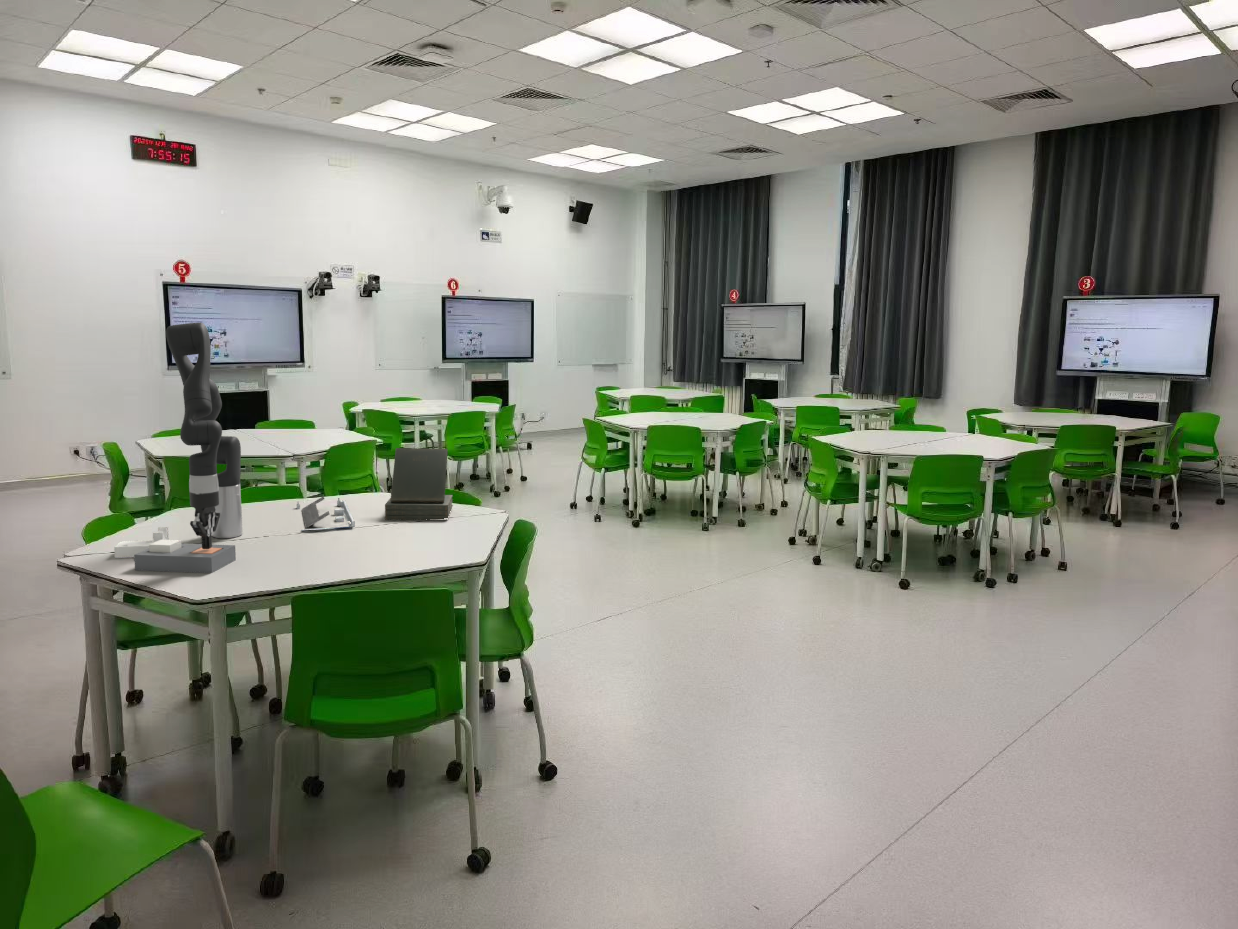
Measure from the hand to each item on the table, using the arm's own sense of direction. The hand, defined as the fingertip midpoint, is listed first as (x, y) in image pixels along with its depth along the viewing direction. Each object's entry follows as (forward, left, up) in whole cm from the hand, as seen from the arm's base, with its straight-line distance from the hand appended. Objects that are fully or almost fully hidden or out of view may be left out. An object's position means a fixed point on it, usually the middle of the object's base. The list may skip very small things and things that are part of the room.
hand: (206, 548), depth 241 cm
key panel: (0, -6, -5) cm, 8 cm away
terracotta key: (0, 0, -4) cm, 4 cm away
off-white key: (0, -12, -2) cm, 12 cm away
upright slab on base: (-78, +42, -6) cm, 88 cm away
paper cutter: (-66, +9, -6) cm, 67 cm away
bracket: (-10, -25, -6) cm, 28 cm away
